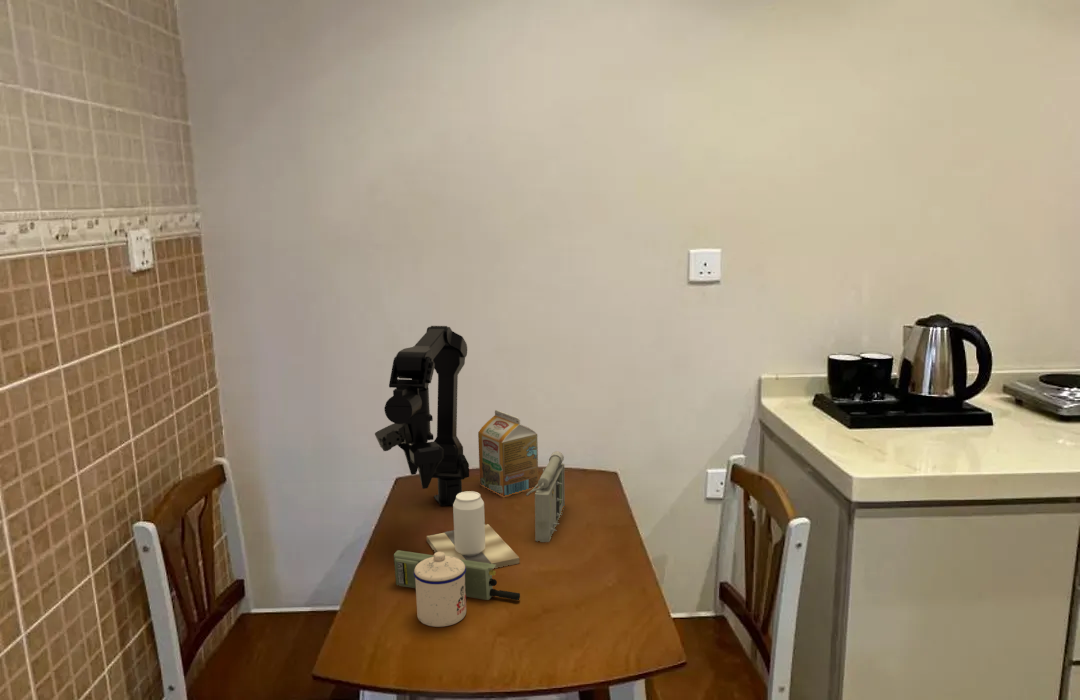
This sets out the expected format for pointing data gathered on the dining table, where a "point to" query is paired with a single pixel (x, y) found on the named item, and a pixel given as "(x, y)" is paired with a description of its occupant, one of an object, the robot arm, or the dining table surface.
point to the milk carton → (507, 455)
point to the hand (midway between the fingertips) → (419, 481)
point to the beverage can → (469, 523)
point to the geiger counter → (549, 498)
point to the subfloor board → (492, 553)
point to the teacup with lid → (440, 590)
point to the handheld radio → (475, 576)
